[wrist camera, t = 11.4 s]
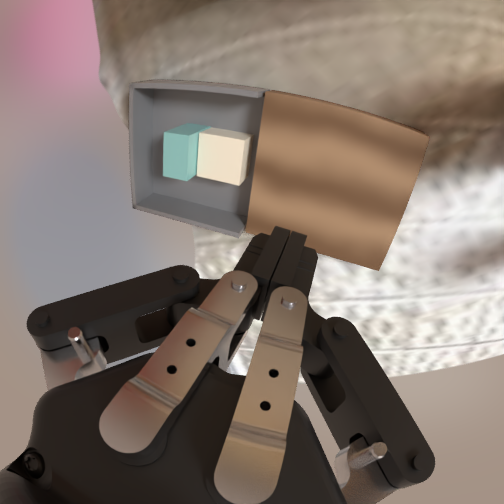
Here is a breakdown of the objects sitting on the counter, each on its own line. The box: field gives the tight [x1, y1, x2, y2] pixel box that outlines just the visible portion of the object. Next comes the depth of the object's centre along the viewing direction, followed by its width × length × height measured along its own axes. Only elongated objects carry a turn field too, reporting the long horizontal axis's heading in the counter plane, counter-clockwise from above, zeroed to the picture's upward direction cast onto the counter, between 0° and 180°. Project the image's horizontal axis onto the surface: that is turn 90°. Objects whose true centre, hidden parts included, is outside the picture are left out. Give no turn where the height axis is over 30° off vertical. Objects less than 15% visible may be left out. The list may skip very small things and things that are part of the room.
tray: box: [129, 80, 270, 238], centre depth 31 cm, size 16×15×4 cm
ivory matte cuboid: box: [197, 127, 254, 186], centre depth 31 cm, size 5×5×3 cm
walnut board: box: [246, 90, 430, 271], centre depth 29 cm, size 16×16×3 cm
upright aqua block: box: [163, 123, 211, 181], centre depth 31 cm, size 5×5×3 cm
